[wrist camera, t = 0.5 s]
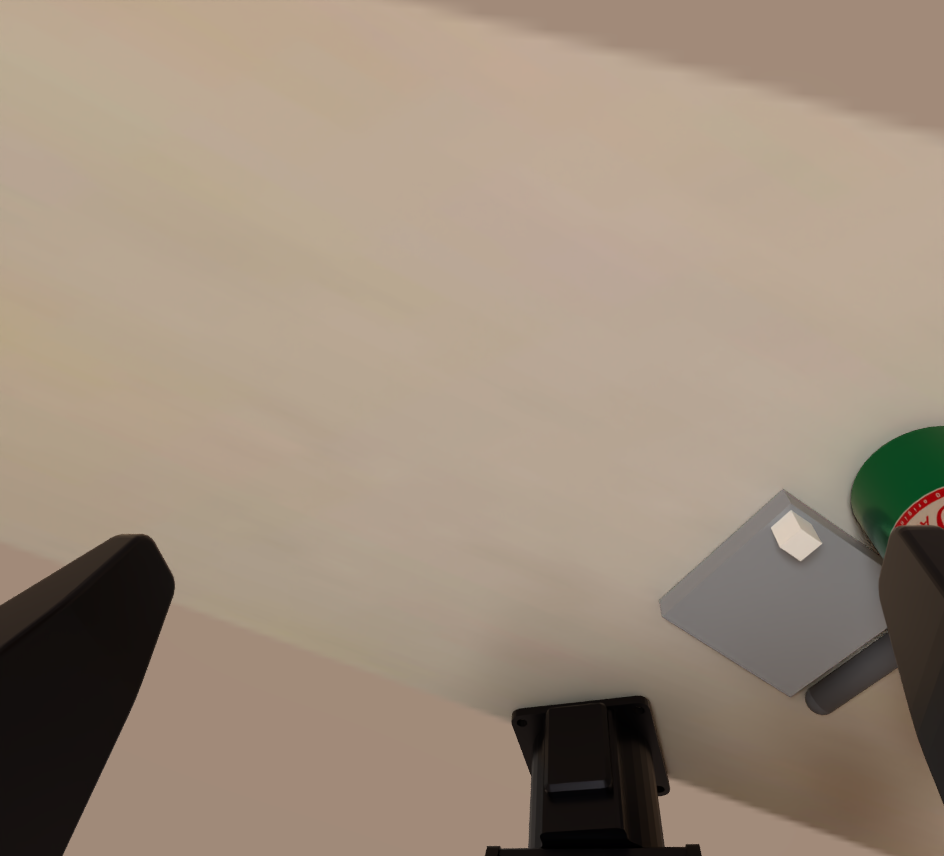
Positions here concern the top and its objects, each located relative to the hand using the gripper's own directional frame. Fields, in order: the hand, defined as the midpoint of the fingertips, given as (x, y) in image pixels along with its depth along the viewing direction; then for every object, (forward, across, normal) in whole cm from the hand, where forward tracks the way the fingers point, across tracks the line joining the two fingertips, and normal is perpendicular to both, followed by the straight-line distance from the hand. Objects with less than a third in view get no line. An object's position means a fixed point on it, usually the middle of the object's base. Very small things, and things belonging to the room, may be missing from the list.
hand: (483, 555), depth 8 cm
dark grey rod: (+15, -12, +20) cm, 28 cm away
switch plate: (+15, -8, +17) cm, 24 cm away
